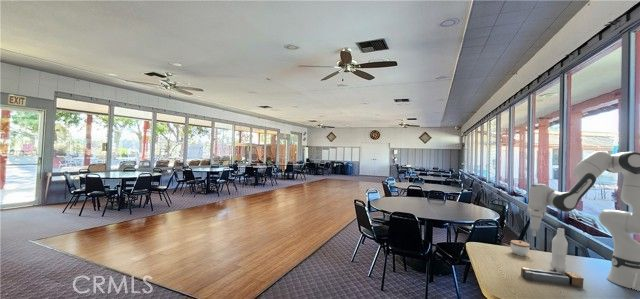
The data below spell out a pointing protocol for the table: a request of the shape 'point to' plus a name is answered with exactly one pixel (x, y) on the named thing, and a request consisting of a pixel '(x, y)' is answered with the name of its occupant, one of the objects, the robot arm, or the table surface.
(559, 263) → the water bottle
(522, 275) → the tong arm
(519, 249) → the lidded jar
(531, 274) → the tong base
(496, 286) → the table surface
